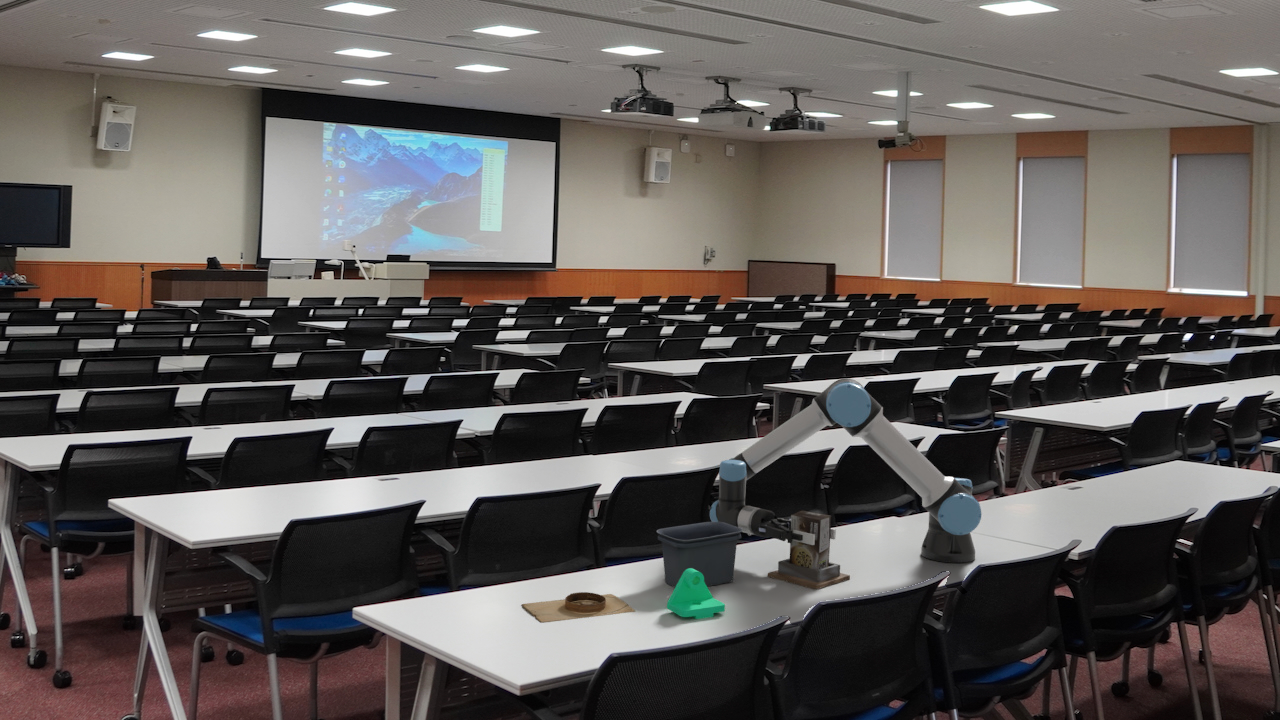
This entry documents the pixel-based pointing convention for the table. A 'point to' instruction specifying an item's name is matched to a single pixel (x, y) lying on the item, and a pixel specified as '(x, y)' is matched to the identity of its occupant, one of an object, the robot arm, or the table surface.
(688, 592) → the camera mount
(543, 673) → the table surface
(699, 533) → the storage bin
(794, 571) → the socket
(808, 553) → the coffee box
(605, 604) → the board
